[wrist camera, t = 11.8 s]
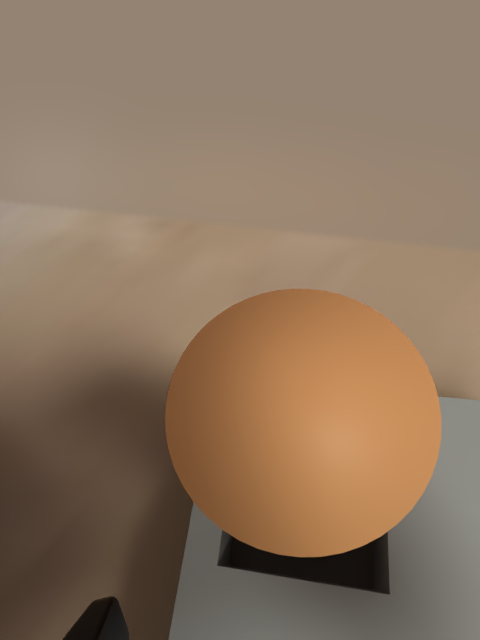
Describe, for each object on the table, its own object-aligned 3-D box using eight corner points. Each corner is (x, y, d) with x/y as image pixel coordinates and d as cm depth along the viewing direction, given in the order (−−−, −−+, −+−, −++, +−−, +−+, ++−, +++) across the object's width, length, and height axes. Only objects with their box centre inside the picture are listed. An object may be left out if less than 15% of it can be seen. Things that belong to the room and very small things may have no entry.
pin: (373, 502, 17) (502, 400, 6) (306, 579, 16) (302, 641, 5) (301, 432, 19) (292, 250, 7) (237, 497, 18) (115, 402, 6)
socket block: (614, 829, 13) (735, 927, 9) (177, 725, 15) (143, 773, 11) (531, 438, 18) (585, 410, 15) (228, 407, 21) (216, 376, 17)
